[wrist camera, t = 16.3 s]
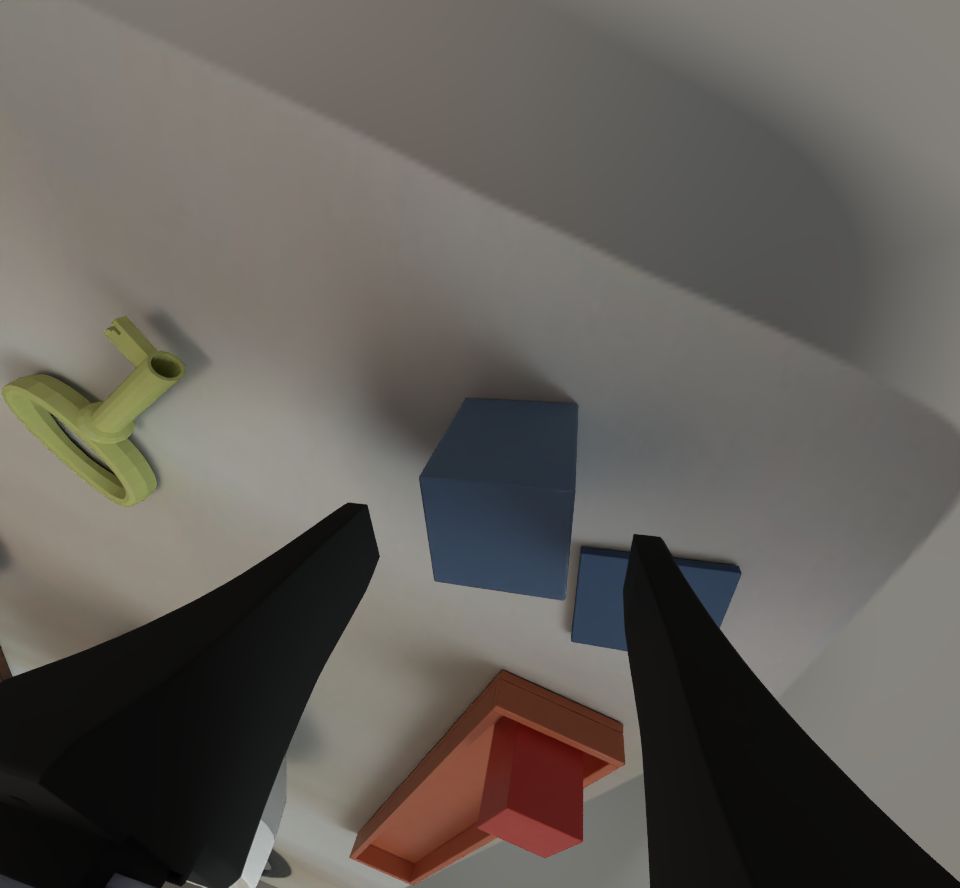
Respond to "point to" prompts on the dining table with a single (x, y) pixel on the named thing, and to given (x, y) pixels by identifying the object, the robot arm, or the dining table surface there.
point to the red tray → (475, 778)
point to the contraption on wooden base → (4, 668)
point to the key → (100, 416)
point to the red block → (532, 790)
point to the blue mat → (603, 594)
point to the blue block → (503, 497)
